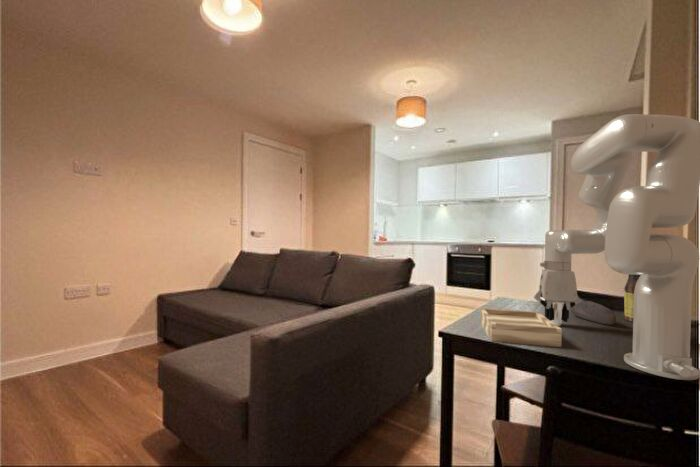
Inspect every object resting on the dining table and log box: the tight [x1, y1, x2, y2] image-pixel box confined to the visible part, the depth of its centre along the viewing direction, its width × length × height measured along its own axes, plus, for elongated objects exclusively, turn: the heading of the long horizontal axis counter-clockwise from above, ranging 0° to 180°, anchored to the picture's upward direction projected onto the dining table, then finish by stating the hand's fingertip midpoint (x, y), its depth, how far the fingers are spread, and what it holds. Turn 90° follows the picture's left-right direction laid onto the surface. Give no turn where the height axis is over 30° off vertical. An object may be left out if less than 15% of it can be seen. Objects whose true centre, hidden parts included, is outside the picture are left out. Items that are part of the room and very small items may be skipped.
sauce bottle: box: [623, 274, 640, 323], centre depth 111 cm, size 7×6×20 cm
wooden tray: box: [479, 307, 563, 348], centre depth 96 cm, size 18×18×6 cm
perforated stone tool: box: [569, 298, 617, 325], centre depth 111 cm, size 15×5×7 cm, turn 13°
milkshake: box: [551, 301, 565, 327], centre depth 105 cm, size 4×5×10 cm
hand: (556, 319), depth 105 cm, fingers closed on milkshake, 4 cm apart
